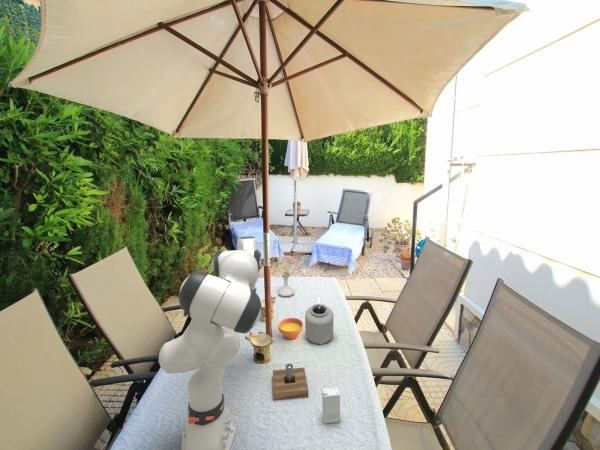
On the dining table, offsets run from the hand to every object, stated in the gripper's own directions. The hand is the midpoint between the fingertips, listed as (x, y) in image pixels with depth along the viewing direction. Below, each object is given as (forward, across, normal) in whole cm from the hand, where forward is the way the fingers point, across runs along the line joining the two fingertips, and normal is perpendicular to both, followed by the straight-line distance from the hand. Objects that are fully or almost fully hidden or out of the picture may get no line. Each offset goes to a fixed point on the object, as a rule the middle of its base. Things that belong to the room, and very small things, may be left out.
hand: (250, 304), depth 138 cm
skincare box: (+34, -29, -29) cm, 53 cm away
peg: (+34, -10, -15) cm, 39 cm away
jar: (+34, +23, -33) cm, 53 cm away
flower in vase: (+34, +81, -19) cm, 90 cm away
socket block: (+34, -10, -15) cm, 39 cm away
